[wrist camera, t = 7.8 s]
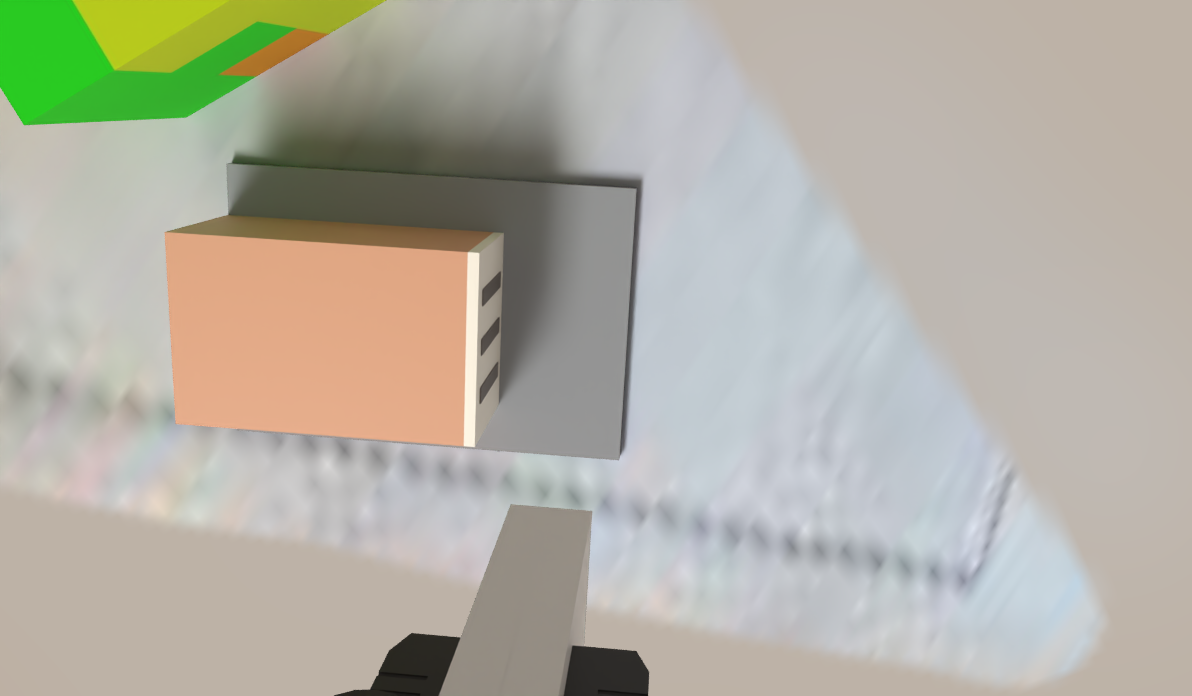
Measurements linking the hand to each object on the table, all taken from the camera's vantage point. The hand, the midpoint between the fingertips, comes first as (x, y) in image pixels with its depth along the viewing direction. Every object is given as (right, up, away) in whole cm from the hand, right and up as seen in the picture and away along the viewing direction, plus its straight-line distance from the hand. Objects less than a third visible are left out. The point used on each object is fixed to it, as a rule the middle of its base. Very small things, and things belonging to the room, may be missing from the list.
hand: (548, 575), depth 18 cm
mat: (-6, +6, +21) cm, 23 cm away
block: (-3, +5, +18) cm, 19 cm away
